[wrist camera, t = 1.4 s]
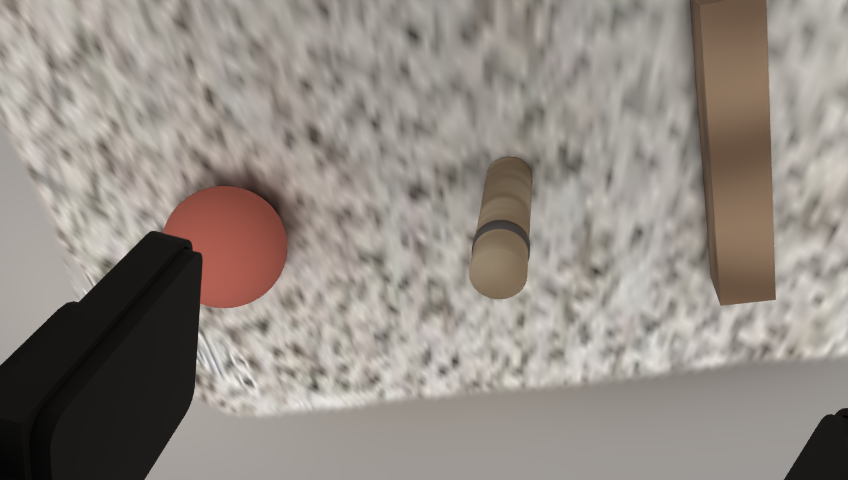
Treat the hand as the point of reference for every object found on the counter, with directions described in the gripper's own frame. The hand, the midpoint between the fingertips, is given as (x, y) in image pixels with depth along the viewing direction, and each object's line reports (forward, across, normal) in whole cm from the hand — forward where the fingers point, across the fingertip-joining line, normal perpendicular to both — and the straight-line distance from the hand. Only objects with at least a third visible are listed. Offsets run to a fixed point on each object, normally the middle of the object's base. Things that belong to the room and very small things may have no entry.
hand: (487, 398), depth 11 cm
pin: (+25, -1, +7) cm, 26 cm away
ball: (+22, +12, +13) cm, 28 cm away
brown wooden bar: (+25, -10, +3) cm, 27 cm away
